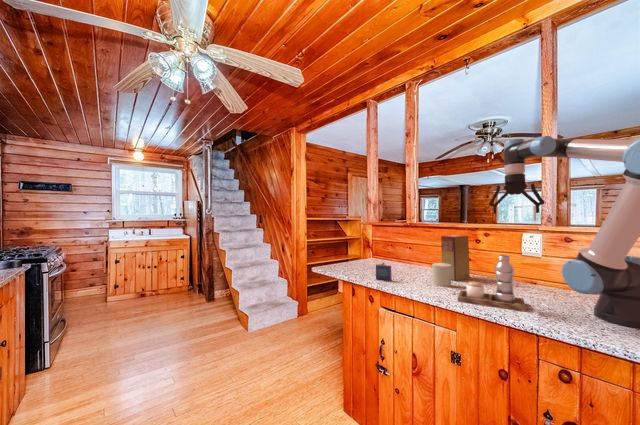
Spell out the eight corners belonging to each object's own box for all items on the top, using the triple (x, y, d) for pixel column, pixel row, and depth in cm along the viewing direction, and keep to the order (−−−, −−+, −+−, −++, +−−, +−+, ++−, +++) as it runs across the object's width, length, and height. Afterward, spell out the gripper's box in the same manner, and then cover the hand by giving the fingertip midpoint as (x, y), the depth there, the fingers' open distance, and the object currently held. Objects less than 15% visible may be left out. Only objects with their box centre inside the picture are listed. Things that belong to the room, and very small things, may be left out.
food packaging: (456, 274, 164) (455, 234, 163) (470, 278, 155) (469, 235, 155) (441, 277, 158) (440, 235, 158) (455, 281, 149) (454, 236, 149)
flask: (392, 280, 154) (391, 262, 154) (390, 281, 152) (390, 262, 152) (376, 278, 159) (376, 261, 159) (375, 280, 156) (374, 261, 156)
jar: (484, 299, 116) (483, 282, 116) (483, 303, 111) (483, 285, 110) (467, 296, 119) (467, 280, 119) (466, 301, 114) (465, 283, 114)
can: (453, 289, 135) (453, 265, 135) (434, 288, 137) (434, 265, 137) (448, 284, 144) (448, 262, 144) (430, 283, 146) (430, 261, 146)
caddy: (523, 305, 110) (523, 298, 110) (525, 314, 101) (525, 306, 101) (461, 296, 123) (461, 290, 123) (458, 303, 114) (457, 296, 114)
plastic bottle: (516, 308, 104) (515, 257, 104) (495, 305, 108) (494, 256, 108) (514, 303, 110) (513, 255, 110) (495, 300, 114) (494, 254, 113)
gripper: (549, 172, 117) (550, 220, 117) (482, 177, 131) (483, 220, 131) (552, 170, 111) (553, 221, 111) (482, 175, 125) (483, 221, 125)
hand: (515, 220), depth 121 cm, fingers open, 13 cm apart
